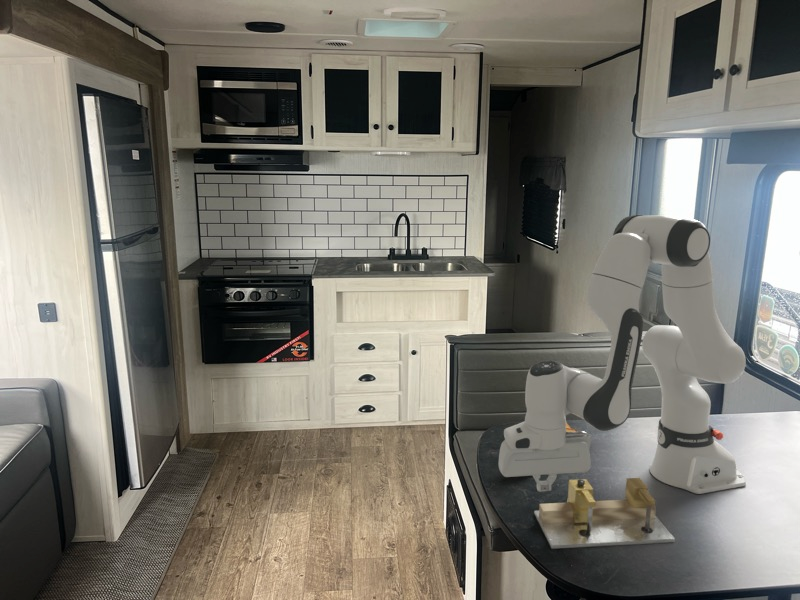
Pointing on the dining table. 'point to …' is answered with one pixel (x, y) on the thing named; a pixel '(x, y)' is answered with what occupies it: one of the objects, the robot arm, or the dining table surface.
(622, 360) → the robot arm
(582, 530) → the flange plate
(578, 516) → the sliding leg
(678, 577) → the dining table surface
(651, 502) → the trammel beam
